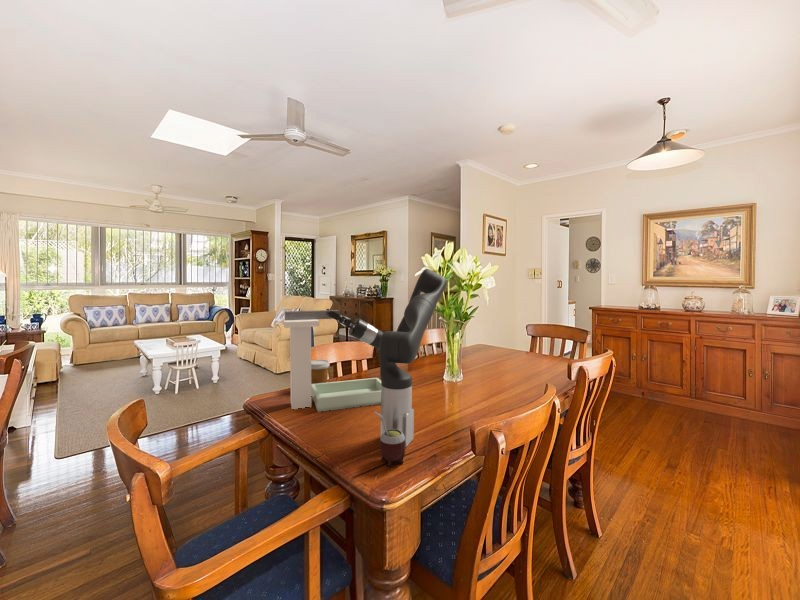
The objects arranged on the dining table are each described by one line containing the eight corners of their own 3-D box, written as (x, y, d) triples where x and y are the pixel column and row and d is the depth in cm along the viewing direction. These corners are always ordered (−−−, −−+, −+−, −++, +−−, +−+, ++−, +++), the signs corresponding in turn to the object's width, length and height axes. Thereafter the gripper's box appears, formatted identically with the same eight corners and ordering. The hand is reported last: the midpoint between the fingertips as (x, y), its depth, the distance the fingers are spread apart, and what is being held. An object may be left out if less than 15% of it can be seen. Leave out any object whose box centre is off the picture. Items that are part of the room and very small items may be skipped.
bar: (338, 317, 138) (338, 310, 138) (339, 318, 135) (339, 310, 135) (284, 319, 131) (284, 311, 131) (285, 320, 128) (285, 312, 128)
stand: (314, 397, 142) (314, 316, 140) (319, 409, 130) (319, 320, 128) (283, 401, 138) (282, 317, 135) (285, 413, 126) (284, 322, 123)
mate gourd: (408, 457, 97) (409, 404, 96) (399, 472, 89) (400, 415, 88) (383, 453, 99) (383, 401, 98) (372, 467, 91) (372, 411, 90)
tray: (377, 388, 154) (377, 377, 154) (391, 402, 138) (391, 390, 137) (311, 396, 144) (311, 384, 144) (317, 412, 127) (317, 398, 127)
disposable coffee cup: (334, 389, 153) (334, 362, 152) (315, 394, 146) (315, 365, 145) (321, 384, 160) (321, 358, 159) (303, 389, 153) (302, 361, 152)
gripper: (363, 320, 148) (329, 301, 142) (373, 325, 135) (336, 304, 129) (354, 336, 147) (319, 318, 141) (363, 342, 134) (325, 322, 128)
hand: (327, 311), depth 135 cm, fingers open, 7 cm apart
